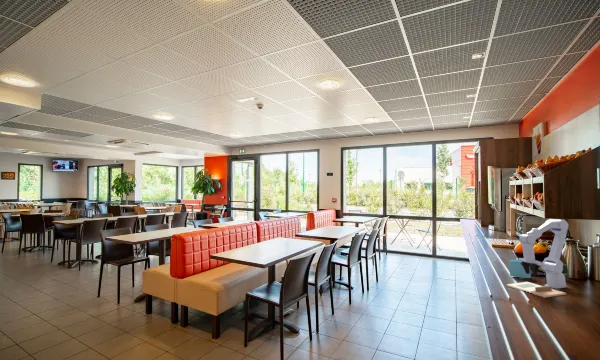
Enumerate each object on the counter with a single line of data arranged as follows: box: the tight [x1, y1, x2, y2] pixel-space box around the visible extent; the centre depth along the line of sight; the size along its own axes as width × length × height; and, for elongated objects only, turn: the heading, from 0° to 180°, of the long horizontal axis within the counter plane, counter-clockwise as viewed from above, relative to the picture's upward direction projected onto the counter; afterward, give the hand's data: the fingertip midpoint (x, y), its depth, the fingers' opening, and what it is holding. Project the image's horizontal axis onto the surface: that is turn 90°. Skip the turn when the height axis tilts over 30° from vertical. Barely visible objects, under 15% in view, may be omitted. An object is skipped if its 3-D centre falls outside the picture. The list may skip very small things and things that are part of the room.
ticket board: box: [506, 281, 543, 294], centre depth 194 cm, size 16×18×1 cm
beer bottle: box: [559, 251, 570, 282], centre depth 207 cm, size 8×8×24 cm
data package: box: [508, 259, 532, 279], centre depth 219 cm, size 12×4×12 cm, turn 46°
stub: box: [531, 285, 567, 299], centre depth 181 cm, size 15×8×4 cm, turn 99°
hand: (531, 274), depth 192 cm, fingers open, 4 cm apart
